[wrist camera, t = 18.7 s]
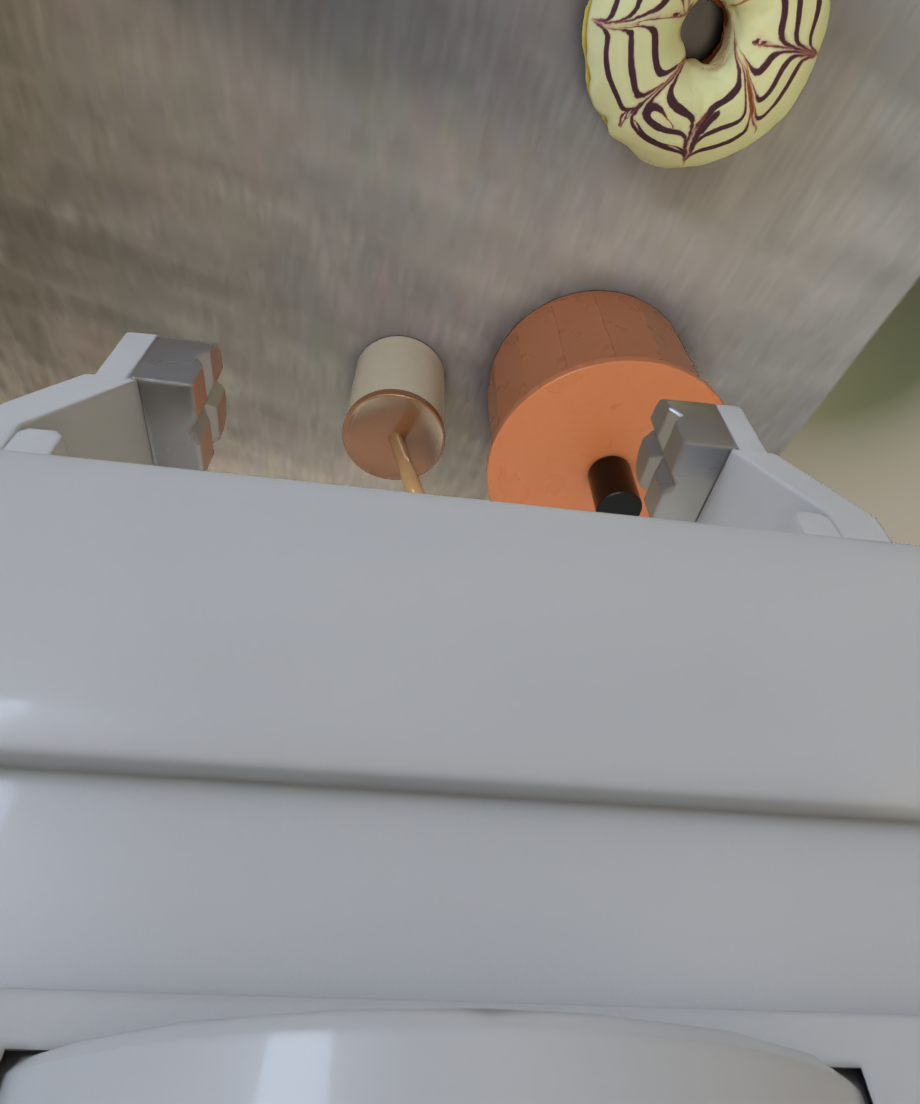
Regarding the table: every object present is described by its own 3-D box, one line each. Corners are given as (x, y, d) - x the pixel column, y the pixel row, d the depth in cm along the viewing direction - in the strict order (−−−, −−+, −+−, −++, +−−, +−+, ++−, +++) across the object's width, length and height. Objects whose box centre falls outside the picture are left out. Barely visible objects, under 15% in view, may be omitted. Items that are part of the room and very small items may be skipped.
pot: (475, 453, 49) (478, 539, 43) (508, 277, 41) (519, 350, 34) (647, 472, 50) (676, 558, 44) (714, 305, 42) (762, 381, 35)
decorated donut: (649, 198, 38) (664, 222, 35) (533, 7, 32) (540, 18, 29) (842, 46, 33) (877, 60, 30) (747, -208, 27) (779, -218, 25)
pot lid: (469, 537, 43) (470, 587, 40) (510, 333, 34) (516, 378, 31) (678, 558, 45) (695, 608, 42) (772, 367, 35) (803, 413, 32)
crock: (353, 411, 47) (317, 602, 34) (355, 329, 43) (315, 510, 30) (455, 422, 47) (456, 613, 35) (467, 342, 43) (473, 525, 31)
